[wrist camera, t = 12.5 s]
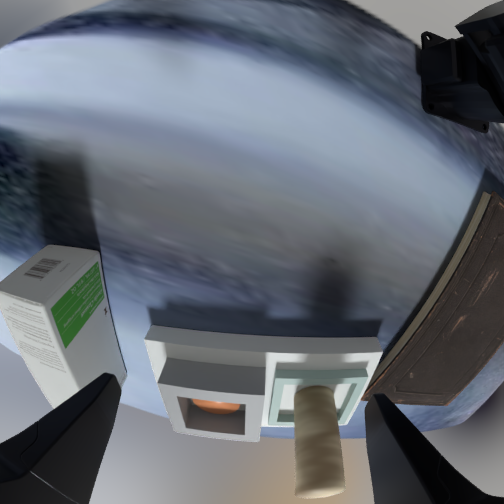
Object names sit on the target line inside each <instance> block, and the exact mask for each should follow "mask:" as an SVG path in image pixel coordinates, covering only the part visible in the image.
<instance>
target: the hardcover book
mask: <svg viewBox="0 0 504 504" xmlns="http://www.w3.org/2000/svg"><path fill="white" fill-rule="evenodd" d="M503 342H504V200H503V199H502V198H501V197H500V196H499V195H498V194H497V193H496V192H495V191H492V194H487V193H486V192H483V194H482V197H481V199H480V201H479V204H478V206H477V209H476V211H475V213H474V215H473V218H472V220H471V222H470V224H469V226H468V228H467V230H466V232H465V234H464V236H463V238H462V240H461V242H460V244H459V246H458V248H457V250H456V252H455V254H454V256H453V258H452V259H451V261H450V263H449V265H448V267H447V268H446V270H445V272H444V274H443V275H442V277H441V279H440V280H439V282H438V284H437V285H436V287H435V289H434V290H433V292H432V293H431V295H430V296H429V298H428V300H427V301H426V303H425V304H424V306H423V307H422V309H421V310H420V312H419V313H418V315H417V316H416V317H415V319H414V320H413V322H412V323H411V325H410V326H409V327H408V329H407V330H406V331H405V333H404V334H403V335H402V337H401V338H400V339H399V341H398V342H397V343H396V345H395V346H394V347H393V349H392V350H391V351H390V352H389V354H388V355H387V356H386V357H385V359H384V360H383V361H382V362H381V363H380V365H379V366H378V367H377V368H376V369H375V371H374V373H373V376H372V378H371V380H370V382H369V384H368V386H367V388H366V390H365V392H364V394H363V396H362V398H361V400H362V401H369V399H370V398H371V396H372V395H373V394H376V393H384V394H385V395H386V396H387V397H388V398H389V399H390V400H391V401H392V402H393V403H394V404H407V405H433V406H447V405H448V404H449V403H451V402H452V401H453V400H454V399H455V398H456V397H457V396H458V395H459V394H460V393H461V392H462V391H463V389H464V388H465V387H466V386H467V385H468V384H469V383H470V382H471V381H472V380H473V379H474V378H475V377H476V375H477V374H478V373H479V372H480V371H481V370H482V369H483V367H484V366H485V365H486V364H487V363H488V361H489V360H490V359H491V358H492V356H493V355H494V354H495V353H496V351H497V350H498V349H499V348H500V346H501V345H502V344H503Z"/></svg>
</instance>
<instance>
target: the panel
mask: <svg viewBox="0 0 504 504" xmlns="http://www.w3.org/2000/svg"><path fill="white" fill-rule="evenodd" d="M144 341H145V344H146V348H147V352H148V355H149V359H150V362H151V366H152V369H153V372H154V376H155V379H156V382H157V385H158V388H159V391H160V394H161V397H162V400H163V403H164V406H165V409H166V412H167V414H168V416H169V419H170V421H171V424H172V426H173V429H174V432H178V433H183V434H189V435H196V436H202V437H209V438H217V439H227V440H237V441H250V442H259V439H260V431H261V426H266V427H294V396H295V394H296V393H297V392H298V391H300V390H301V389H303V388H306V387H310V386H325V387H328V388H330V389H331V390H332V391H333V393H334V399H335V405H336V412H337V419H338V425H347V424H348V422H349V420H350V418H351V417H352V415H353V413H354V411H355V409H356V407H357V406H358V404H359V402H360V400H361V398H362V396H363V394H364V392H365V390H366V388H367V386H368V384H369V382H370V380H371V378H372V376H373V373H374V371H375V369H376V367H377V365H378V363H379V360H380V358H381V356H382V353H383V351H382V348H381V346H380V343H379V341H378V338H377V337H353V338H315V337H280V336H260V335H244V334H230V333H219V332H208V331H198V330H189V329H180V328H172V327H164V326H157V325H151V327H150V329H149V331H148V333H147V335H146V337H145V339H144ZM192 399H199V400H207V401H216V402H225V403H236V404H240V407H239V409H238V410H236V411H235V412H233V413H229V414H214V413H210V412H207V411H204V410H202V409H201V408H199V407H198V406H197V405H196V404H195V403H194V402H193V400H192Z"/></svg>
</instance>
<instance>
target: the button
mask: <svg viewBox="0 0 504 504" xmlns="http://www.w3.org/2000/svg"><path fill="white" fill-rule="evenodd" d="M192 400H193V402H194V403H195V404H196V405H197V406H198V407H199V408H201V409H202V410H204V411H207V412H210V413H214V414H229V413H233V412H235V411H236V410H238V409H239V407H240V404H236V403H225V402H216V401H207V400H199V399H192Z"/></svg>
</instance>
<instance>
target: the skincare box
mask: <svg viewBox="0 0 504 504" xmlns="http://www.w3.org/2000/svg"><path fill="white" fill-rule="evenodd" d="M0 309H1V312H2V314H3V317H4V319H5V322H6V324H7V326H8V328H9V331H10V333H11V335H12V337H13V339H14V341H15V344H16V346H17V348H18V350H19V352H20V354H21V355H22V357H23V359H24V361H25V363H26V365H27V367H28V368H29V370H30V372H31V374H32V375H33V377H34V379H35V380H36V382H37V384H38V386H39V387H40V389H41V390H42V392H43V393H44V395H45V396H46V398H47V400H48V401H49V403H50V404H51V406H52V407H53V409H55V408H56V407H57V406H59V405H60V404H62V403H63V402H64V401H66V400H67V399H68V398H70V397H71V396H73V395H74V394H75V393H77V392H78V391H79V390H81V389H82V388H83V387H85V386H86V385H88V384H89V383H90V382H92V381H93V380H94V379H96V378H97V377H99V376H100V375H101V374H103V373H105V372H107V373H111V374H114V375H115V376H116V378H117V380H118V382H119V384H120V387H121V389H122V386H123V384H124V382H125V380H126V378H127V373H126V370H125V367H124V364H123V360H122V357H121V354H120V350H119V346H118V343H117V339H116V335H115V331H114V327H113V323H112V318H111V314H110V309H109V305H108V300H107V295H106V289H105V284H104V278H103V273H102V267H101V260H100V253H99V252H98V251H95V250H89V249H82V248H75V247H67V246H59V245H47V246H46V247H44V248H43V249H42V250H40V251H39V252H38V253H37V254H35V255H34V256H32V257H31V258H30V259H29V260H27V261H26V262H25V263H23V264H22V265H21V266H20V267H18V268H17V269H16V270H14V271H13V272H12V273H11V274H10V275H8V276H7V277H6V278H5V279H4V280H2V281H1V282H0Z"/></svg>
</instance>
